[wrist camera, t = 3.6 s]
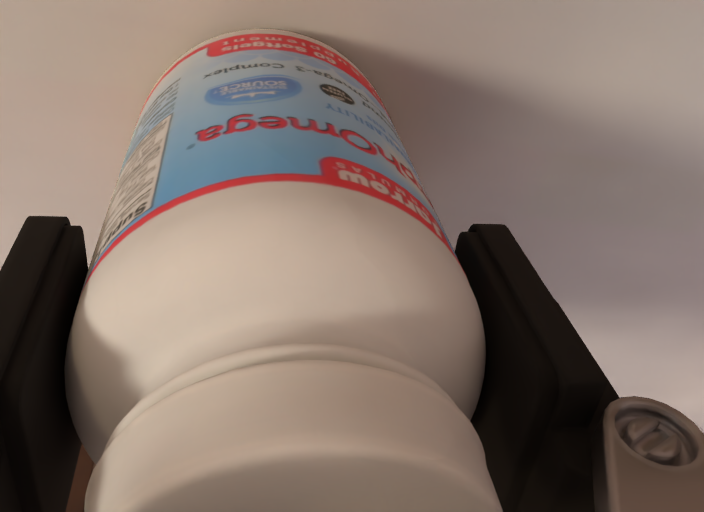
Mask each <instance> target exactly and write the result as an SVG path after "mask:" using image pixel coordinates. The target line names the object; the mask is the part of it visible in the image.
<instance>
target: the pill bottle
mask: <svg viewBox="0 0 704 512" xmlns="http://www.w3.org/2000/svg"><path fill="white" fill-rule="evenodd" d="M485 362H486V341H485V334H484V327H483V322H482V318H481V314H480V310H479V307H478V304H477V301H476V298H475V296H474V294H473V291H472V289H471V287H470V285H469V282H468V279H467V276H466V274H465V273H464V271H463V269H462V267H461V265H460V263H459V261H458V259H457V256H456V254H455V252H454V250H453V248H452V246H451V244H450V242H449V240H448V238H447V236H446V234H445V232H444V229H443V227H442V225H441V223H440V220H439V219H438V217H437V214H436V213H435V211H434V209H433V206H432V204H431V202H430V200H429V198H428V196H427V194H426V192H425V190H424V188H423V186H422V184H421V182H420V180H419V178H418V175H417V173H416V171H415V169H414V167H413V165H412V163H411V161H410V159H409V157H408V154H407V152H406V151H405V148H404V146H403V144H402V142H401V140H400V138H399V136H398V134H397V132H396V130H395V128H394V126H393V124H392V122H391V120H390V117H389V115H388V113H387V111H386V108H385V107H384V105H383V103H382V101H381V99H380V97H379V96H378V94H377V92H376V91H375V89H374V87H373V86H372V85H371V83H370V82H369V81H368V79H367V78H366V77H365V76H364V74H363V73H362V72H361V71H360V70H359V69H358V68H357V67H356V66H355V65H354V64H353V63H352V62H351V61H349V60H348V59H347V58H346V57H345V56H343V55H342V54H340V53H339V52H337V51H336V50H334V49H333V48H331V47H330V46H328V45H326V44H324V43H322V42H320V41H318V40H315V39H312V38H310V37H307V36H304V35H301V34H297V33H294V32H289V31H283V30H276V29H249V30H240V31H235V32H230V33H226V34H222V35H219V36H217V37H214V38H211V39H209V40H207V41H205V42H202V43H200V44H198V45H197V46H195V47H193V48H192V49H190V50H188V51H187V52H186V53H184V54H183V55H182V56H181V57H179V58H178V59H177V60H175V61H174V62H173V63H172V64H171V65H170V66H169V68H168V69H167V70H166V71H165V72H164V73H163V74H162V76H161V77H160V78H159V79H158V81H157V82H156V84H155V85H154V87H153V89H152V90H151V92H150V94H149V96H148V98H147V100H146V102H145V104H144V106H143V108H142V111H141V113H140V116H139V119H138V121H137V124H136V127H135V130H134V133H133V136H132V139H131V142H130V145H129V148H128V150H127V153H126V156H125V159H124V162H123V165H122V169H121V172H120V174H119V178H118V180H117V183H116V186H115V189H114V193H113V196H112V199H111V202H110V205H109V208H108V211H107V214H106V218H105V220H104V223H103V226H102V230H101V233H100V236H99V239H98V242H97V245H96V248H95V251H94V254H93V258H92V261H91V264H90V266H89V269H88V272H87V275H86V279H85V282H84V285H83V288H82V291H81V294H80V298H79V301H78V305H77V308H76V311H75V314H74V317H73V323H72V326H71V329H70V333H69V338H68V342H67V349H66V357H65V366H64V373H65V393H66V399H67V403H68V408H69V412H70V415H71V418H72V422H73V425H74V427H75V429H76V432H77V434H78V436H79V438H80V440H81V442H82V444H83V446H84V448H85V450H86V451H87V453H88V454H89V456H90V458H91V459H92V460H93V462H94V463H95V464H96V466H95V468H94V469H93V472H92V474H91V477H90V480H89V483H88V486H87V490H86V494H85V506H84V512H503V510H502V507H501V504H500V502H499V499H498V496H497V493H496V491H495V488H494V485H493V482H492V480H491V477H490V475H489V472H488V469H487V466H486V459H485V453H484V449H483V446H482V443H481V440H480V438H479V436H478V434H477V432H476V431H475V429H474V427H473V425H472V423H471V422H470V420H471V418H472V416H473V414H474V411H475V409H476V406H477V403H478V400H479V397H480V393H481V389H482V384H483V380H484V373H485Z"/></svg>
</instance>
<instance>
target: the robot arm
mask: <svg viewBox="0 0 704 512" xmlns="http://www.w3.org/2000/svg"><path fill="white" fill-rule="evenodd" d="M455 254H456V256H457V259H458V261H459V263H460V265H461V267H462V269H463V271H464V273H465V274H466V276H467V279H468V282H469V285H470V287H471V289H472V291H473V294H474V296H475V298H476V301H477V304H478V307H479V310H480V314H481V318H482V322H483V327H484V334H485V341H486V362H485V373H484V380H483V384H482V389H481V393H480V397H479V400H478V403H477V406H476V409H475V411H474V414H473V416H472V418H471V420H470V422H471V423H472V425H473V427H474V429H475V431H476V432H477V434H478V436H479V438H480V440H481V443H482V446H483V449H484V453H485V459H486V466H487V469H488V472H489V475H490V477H491V480H492V482H493V485H494V488H495V491H496V493H497V496H498V499H499V502H500V504H501V507H502V510H503V512H704V434H703V433H702V432H701V430H700V429H699V428H698V427H697V426H696V424H695V423H694V422H693V421H691V420H690V419H689V418H687V417H686V416H685V415H684V414H682V413H681V412H680V411H678V410H676V409H674V408H672V407H670V406H668V405H667V404H664V403H662V402H659V401H656V400H653V399H650V398H643V397H636V396H632V397H622V398H619V396H618V395H617V393H616V391H615V390H614V388H613V387H612V385H611V384H610V382H609V381H608V379H607V378H606V376H605V375H604V373H603V372H602V370H601V368H600V367H599V365H598V364H597V362H596V361H595V359H594V358H593V356H592V355H591V353H590V352H589V350H588V348H587V347H586V345H585V344H584V342H583V341H582V339H581V338H580V336H579V335H578V333H577V332H576V330H575V329H574V327H573V325H572V324H571V322H570V321H569V319H568V318H567V316H566V315H565V313H564V312H563V310H562V309H561V307H560V305H559V304H558V303H557V302H556V301H555V299H554V298H553V297H552V295H551V294H550V292H549V291H548V289H547V288H546V286H545V285H544V283H543V282H542V280H541V278H540V277H539V275H538V274H537V272H536V271H535V269H534V268H533V266H532V265H531V263H530V261H529V260H528V258H527V257H526V255H525V254H524V252H523V251H522V249H521V248H520V246H519V244H518V243H517V241H516V240H515V238H514V237H513V235H512V234H511V232H510V231H509V229H508V228H507V227H506V226H505V225H502V224H473V225H471V227H470V228H469V230H468V232H461V233H460V235H459V237H458V240H457V244H456V249H455ZM87 272H88V265H87V257H86V249H85V241H84V234H83V230H82V227H81V226H71V225H70V222H69V219H68V218H67V217H54V216H29V217H28V218H27V219H26V220H25V222H24V224H23V226H22V228H21V230H20V232H19V234H18V236H17V238H16V240H15V242H14V244H13V246H12V248H11V250H10V252H9V254H8V256H7V258H6V260H5V262H4V264H3V266H2V268H1V270H0V512H66V508H67V503H68V499H69V495H70V491H71V487H72V482H73V478H74V474H75V470H76V466H77V461H78V457H79V453H80V449H81V444H82V442H81V440H80V438H79V436H78V434H77V432H76V429H75V427H74V425H73V422H72V418H71V415H70V412H69V408H68V403H67V399H66V393H65V373H64V366H65V357H66V349H67V342H68V338H69V333H70V329H71V326H72V323H73V317H74V314H75V311H76V308H77V305H78V301H79V298H80V294H81V291H82V288H83V285H84V282H85V279H86V275H87Z"/></svg>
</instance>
